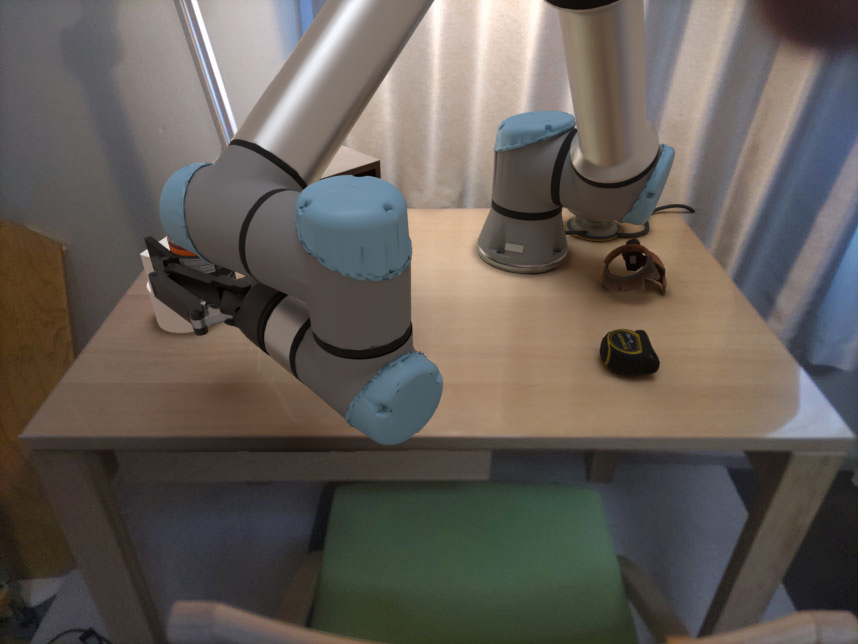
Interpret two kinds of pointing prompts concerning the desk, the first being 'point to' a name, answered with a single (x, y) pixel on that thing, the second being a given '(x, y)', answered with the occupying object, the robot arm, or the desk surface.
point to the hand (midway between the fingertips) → (179, 238)
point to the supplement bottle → (198, 264)
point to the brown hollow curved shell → (634, 268)
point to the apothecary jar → (593, 226)
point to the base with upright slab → (162, 312)
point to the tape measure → (629, 352)
